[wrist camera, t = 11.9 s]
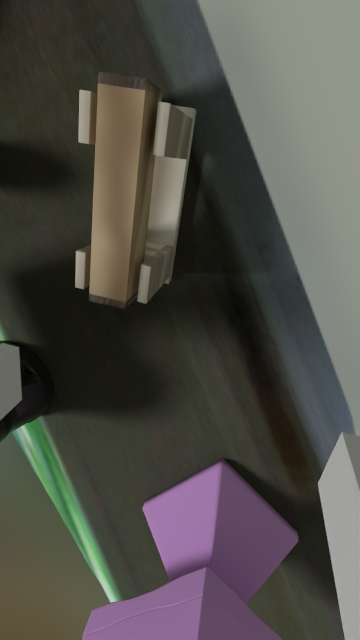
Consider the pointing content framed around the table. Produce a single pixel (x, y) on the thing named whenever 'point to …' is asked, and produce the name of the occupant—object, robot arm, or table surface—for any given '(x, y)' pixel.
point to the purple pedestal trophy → (203, 563)
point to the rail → (122, 185)
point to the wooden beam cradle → (165, 195)
